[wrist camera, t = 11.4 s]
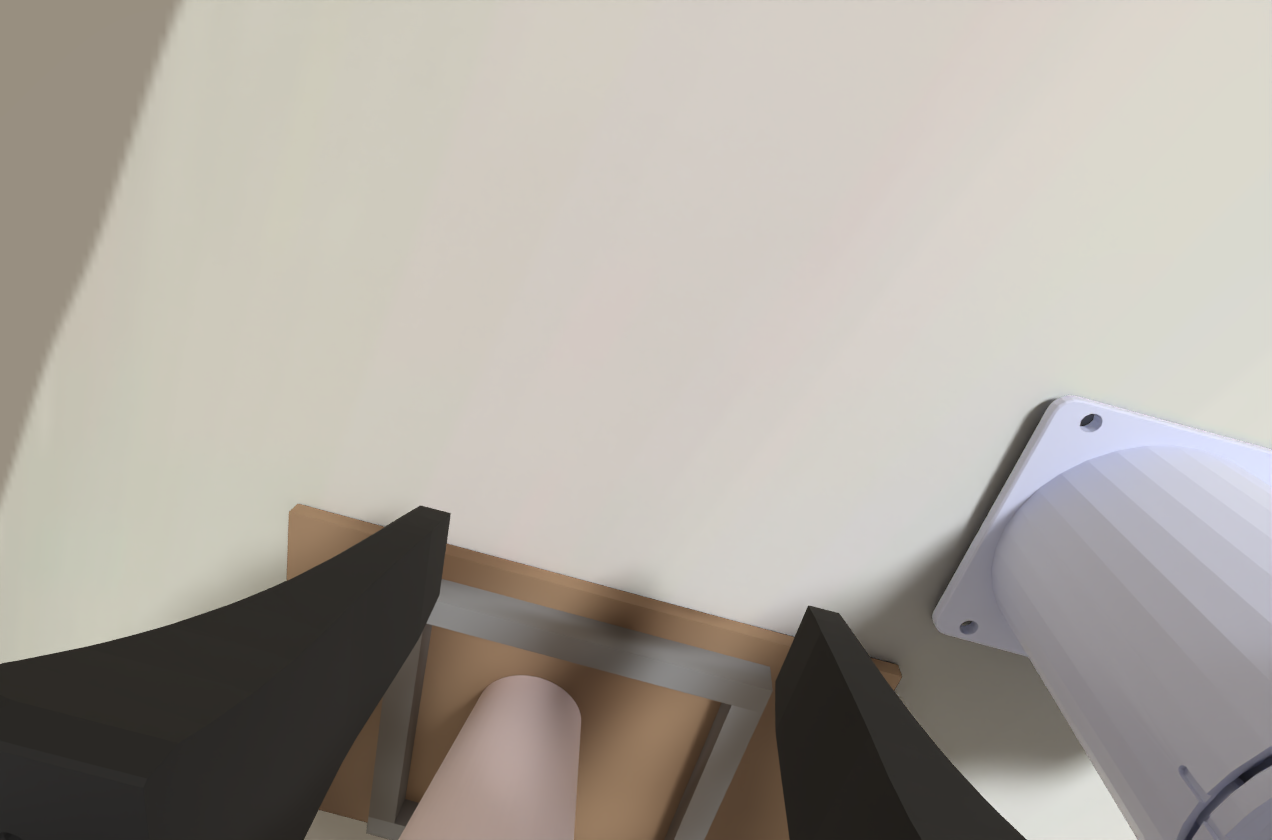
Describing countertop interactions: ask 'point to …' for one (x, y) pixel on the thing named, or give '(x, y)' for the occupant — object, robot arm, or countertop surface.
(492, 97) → the countertop surface
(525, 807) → the smoothie
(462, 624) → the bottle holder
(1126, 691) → the robot arm
